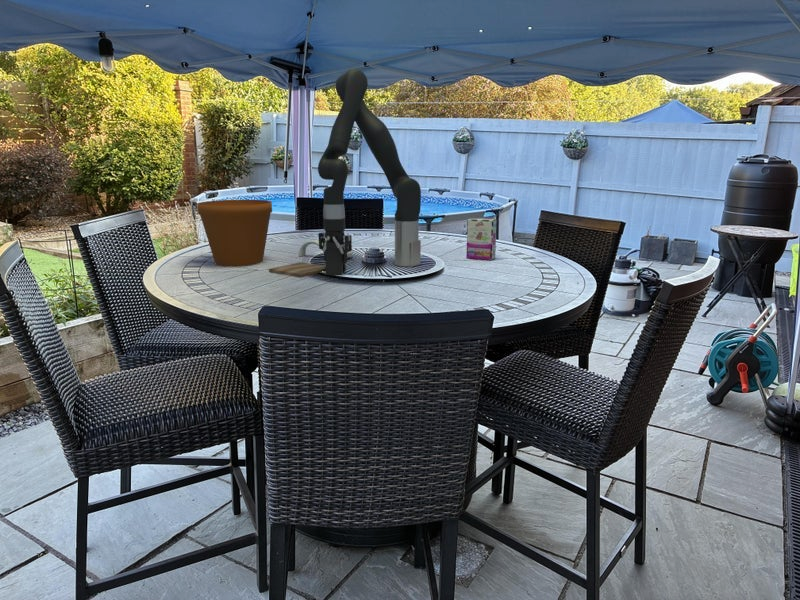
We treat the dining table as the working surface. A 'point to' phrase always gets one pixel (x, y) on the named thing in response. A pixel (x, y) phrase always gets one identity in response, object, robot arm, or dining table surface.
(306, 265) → the walnut board
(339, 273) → the phone stand
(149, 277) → the dining table surface
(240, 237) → the flowerpot
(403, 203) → the robot arm
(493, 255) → the candy bar box
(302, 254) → the spoon rest
